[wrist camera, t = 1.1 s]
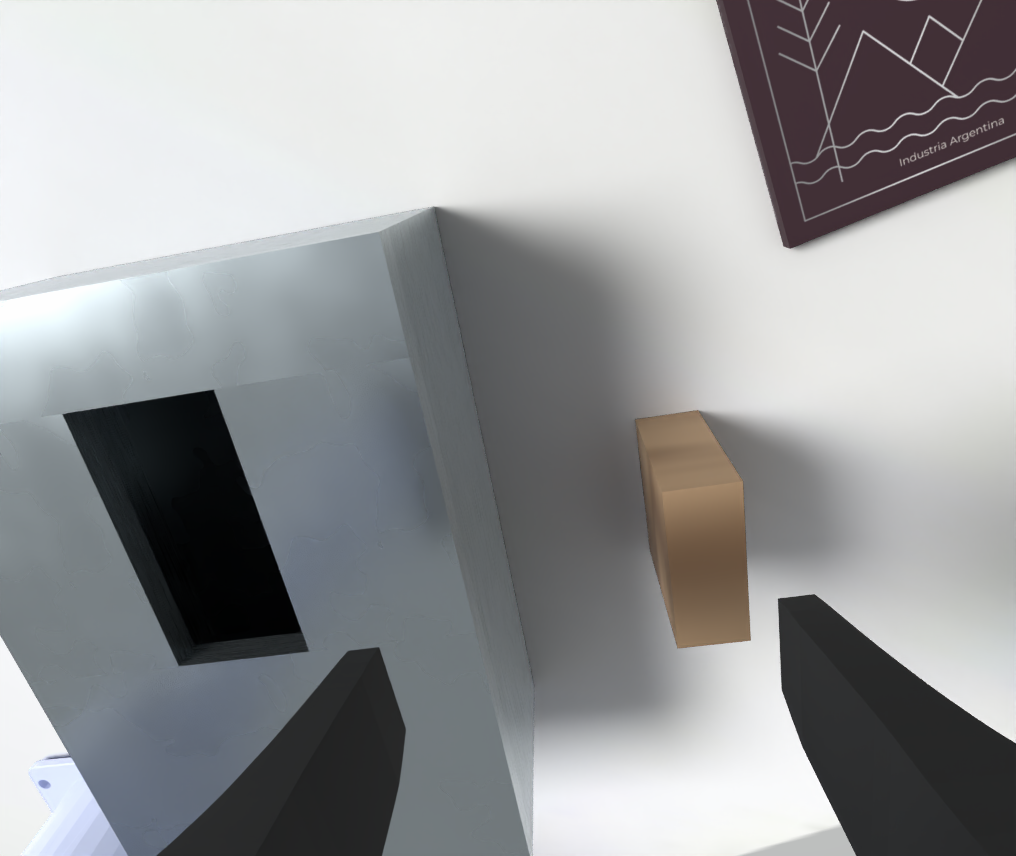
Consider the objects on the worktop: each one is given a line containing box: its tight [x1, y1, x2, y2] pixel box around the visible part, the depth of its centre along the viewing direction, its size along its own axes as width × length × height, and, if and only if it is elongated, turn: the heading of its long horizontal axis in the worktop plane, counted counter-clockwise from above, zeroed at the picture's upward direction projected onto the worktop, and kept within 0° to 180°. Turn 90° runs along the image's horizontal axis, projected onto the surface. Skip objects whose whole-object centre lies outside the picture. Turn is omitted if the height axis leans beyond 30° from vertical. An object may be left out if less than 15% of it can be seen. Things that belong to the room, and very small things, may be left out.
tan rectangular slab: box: [635, 410, 751, 648], centre depth 20 cm, size 5×2×5 cm, turn 10°
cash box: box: [0, 207, 534, 856], centre depth 20 cm, size 18×12×7 cm, turn 10°
